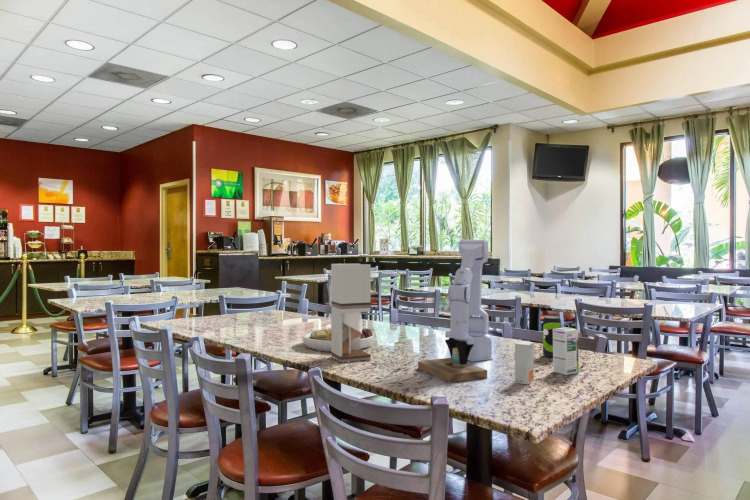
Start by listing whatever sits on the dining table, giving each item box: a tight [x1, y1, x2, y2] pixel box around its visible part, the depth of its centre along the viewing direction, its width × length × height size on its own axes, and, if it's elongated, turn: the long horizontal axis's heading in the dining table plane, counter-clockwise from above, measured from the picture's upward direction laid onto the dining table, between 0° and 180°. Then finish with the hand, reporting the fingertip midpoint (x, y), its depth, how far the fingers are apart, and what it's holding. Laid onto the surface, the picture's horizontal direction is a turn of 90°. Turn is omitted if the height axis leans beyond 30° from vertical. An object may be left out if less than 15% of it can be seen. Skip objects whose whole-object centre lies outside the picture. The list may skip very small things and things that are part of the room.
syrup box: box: [552, 327, 580, 376], centre depth 168 cm, size 6×6×14 cm
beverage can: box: [542, 315, 562, 359], centre depth 193 cm, size 6×6×15 cm
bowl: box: [301, 327, 375, 352], centre depth 215 cm, size 30×30×8 cm
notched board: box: [417, 357, 488, 383], centre depth 168 cm, size 14×20×2 cm
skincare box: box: [514, 340, 535, 386], centre depth 157 cm, size 6×4×12 cm
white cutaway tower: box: [330, 263, 372, 363], centre depth 189 cm, size 11×11×35 cm
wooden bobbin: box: [452, 347, 467, 368], centre depth 169 cm, size 5×5×6 cm
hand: (459, 362), depth 169 cm, fingers closed on wooden bobbin, 4 cm apart
